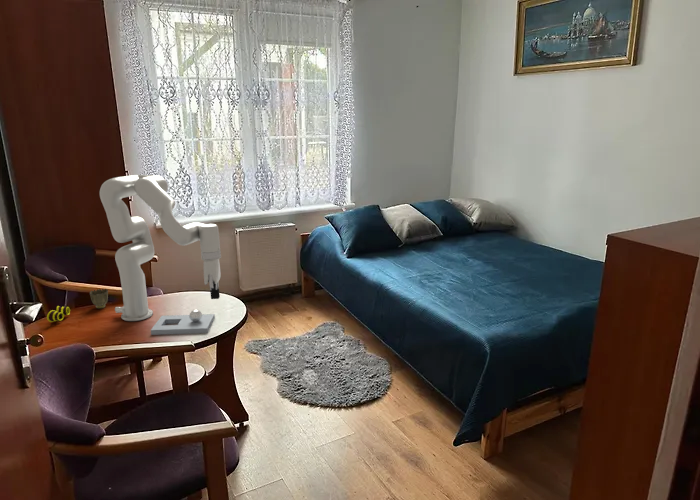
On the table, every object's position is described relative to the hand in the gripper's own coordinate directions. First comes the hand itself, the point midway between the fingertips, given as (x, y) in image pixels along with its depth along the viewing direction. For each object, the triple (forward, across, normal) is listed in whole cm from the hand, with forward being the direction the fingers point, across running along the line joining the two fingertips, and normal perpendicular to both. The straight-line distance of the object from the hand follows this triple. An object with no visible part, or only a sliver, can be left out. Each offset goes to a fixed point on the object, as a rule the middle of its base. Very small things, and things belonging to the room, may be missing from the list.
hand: (215, 298), depth 200 cm
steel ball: (+7, 0, -9) cm, 11 cm away
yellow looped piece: (+11, -13, -69) cm, 71 cm away
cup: (+11, -25, -57) cm, 63 cm away
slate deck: (+12, 0, -14) cm, 18 cm away
